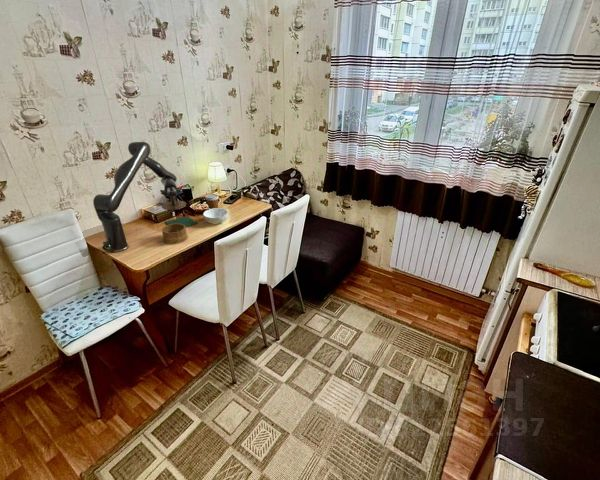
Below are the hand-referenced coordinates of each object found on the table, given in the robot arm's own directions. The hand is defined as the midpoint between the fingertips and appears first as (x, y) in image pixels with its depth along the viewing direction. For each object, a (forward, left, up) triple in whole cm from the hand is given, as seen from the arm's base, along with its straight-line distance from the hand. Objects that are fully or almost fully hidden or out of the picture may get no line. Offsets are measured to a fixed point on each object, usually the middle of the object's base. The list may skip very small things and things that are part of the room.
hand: (172, 195), depth 189 cm
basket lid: (+1, +3, -8) cm, 8 cm away
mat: (+6, +12, -25) cm, 28 cm away
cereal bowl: (+26, -2, -25) cm, 36 cm away
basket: (-6, -8, -25) cm, 27 cm away
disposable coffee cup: (+34, +17, -25) cm, 46 cm away
